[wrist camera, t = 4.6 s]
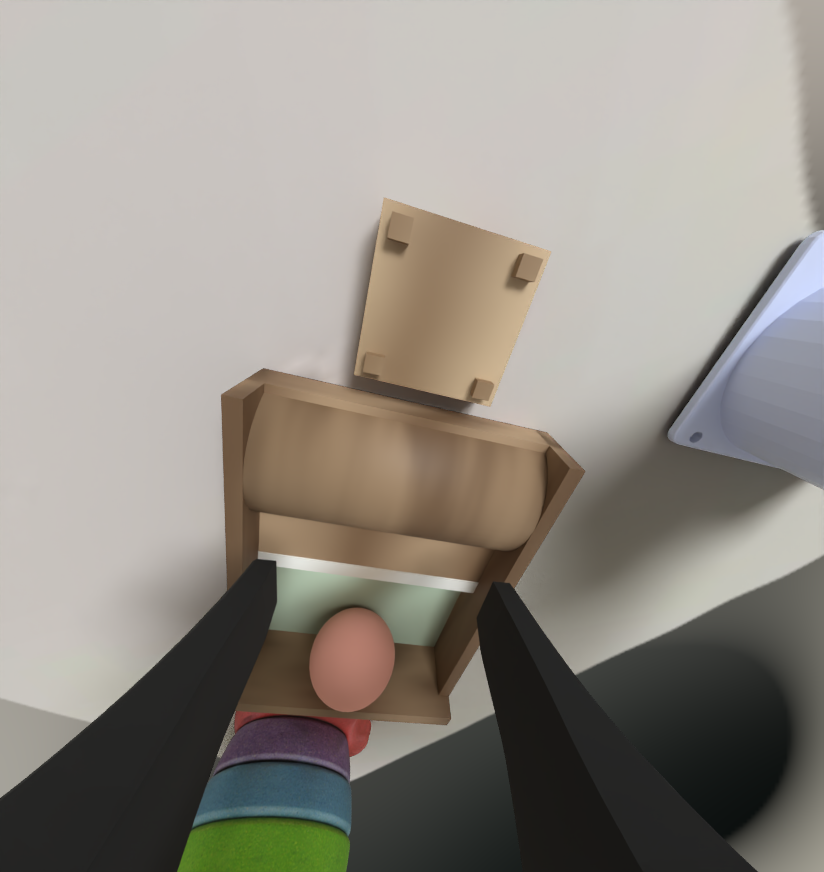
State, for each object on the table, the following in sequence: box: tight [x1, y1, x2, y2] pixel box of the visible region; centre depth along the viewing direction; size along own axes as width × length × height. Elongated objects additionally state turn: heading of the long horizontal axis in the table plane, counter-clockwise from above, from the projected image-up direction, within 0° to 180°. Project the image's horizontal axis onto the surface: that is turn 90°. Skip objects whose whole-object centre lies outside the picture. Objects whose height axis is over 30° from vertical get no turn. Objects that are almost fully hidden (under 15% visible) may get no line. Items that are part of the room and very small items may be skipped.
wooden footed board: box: [354, 198, 551, 407], centre depth 10 cm, size 5×5×2 cm
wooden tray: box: [221, 368, 585, 725], centre depth 15 cm, size 12×17×7 cm
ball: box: [309, 608, 395, 712], centre depth 16 cm, size 4×4×4 cm
